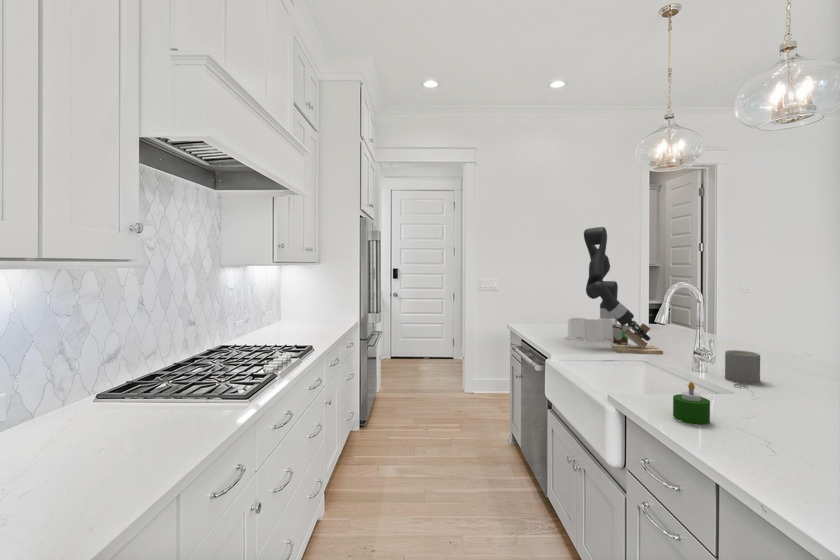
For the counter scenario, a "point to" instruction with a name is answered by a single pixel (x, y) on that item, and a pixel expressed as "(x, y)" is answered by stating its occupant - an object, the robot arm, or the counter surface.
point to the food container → (620, 334)
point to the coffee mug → (742, 366)
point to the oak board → (636, 349)
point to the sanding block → (637, 336)
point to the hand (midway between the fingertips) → (647, 339)
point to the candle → (691, 407)
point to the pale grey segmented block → (591, 328)
